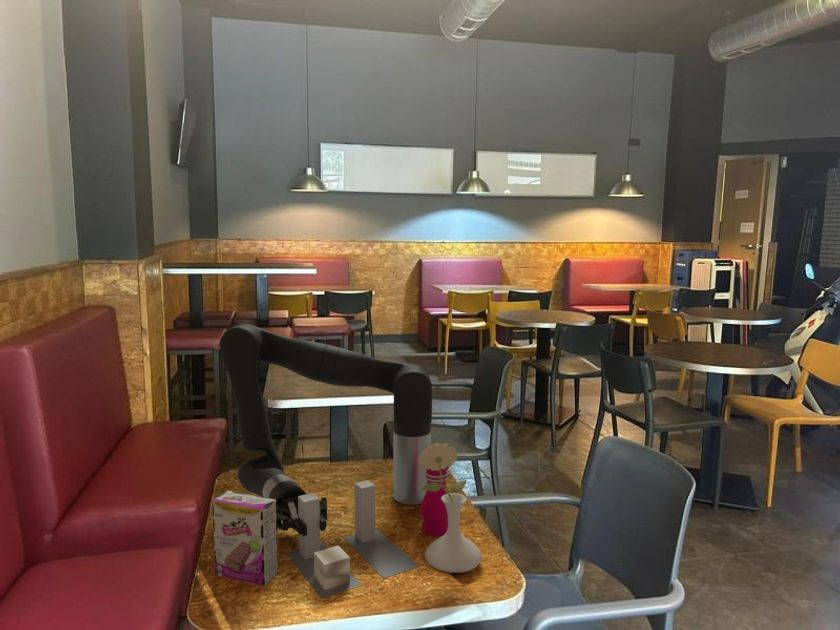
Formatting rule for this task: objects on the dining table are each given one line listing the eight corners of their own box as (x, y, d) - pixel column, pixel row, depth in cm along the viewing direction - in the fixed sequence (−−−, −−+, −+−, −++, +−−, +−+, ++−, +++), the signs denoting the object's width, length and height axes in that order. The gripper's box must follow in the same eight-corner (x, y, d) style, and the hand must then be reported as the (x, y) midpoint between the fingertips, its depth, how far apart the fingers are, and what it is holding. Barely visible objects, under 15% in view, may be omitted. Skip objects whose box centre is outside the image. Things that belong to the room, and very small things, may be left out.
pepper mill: (427, 540, 134) (428, 451, 131) (414, 525, 140) (415, 440, 137) (457, 533, 136) (459, 446, 134) (443, 519, 143) (444, 436, 140)
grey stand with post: (323, 548, 129) (322, 488, 127) (362, 591, 114) (361, 524, 112) (286, 559, 125) (285, 497, 123) (321, 604, 110) (320, 535, 108)
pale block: (338, 569, 119) (338, 545, 118) (349, 582, 115) (349, 557, 114) (314, 577, 116) (313, 552, 116) (325, 590, 112) (324, 564, 112)
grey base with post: (376, 533, 136) (375, 476, 134) (419, 571, 121) (419, 508, 119) (342, 542, 132) (342, 484, 130) (383, 584, 117) (383, 518, 115)
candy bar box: (213, 581, 117) (210, 500, 115) (230, 568, 122) (227, 489, 120) (264, 593, 114) (262, 509, 111) (279, 579, 118) (277, 498, 116)
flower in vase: (483, 551, 129) (486, 436, 125) (478, 582, 118) (481, 456, 114) (421, 545, 131) (422, 432, 128) (411, 575, 120) (412, 451, 117)
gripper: (252, 487, 132) (279, 519, 117) (314, 473, 139) (347, 502, 125) (253, 520, 133) (280, 556, 118) (314, 505, 140) (347, 537, 126)
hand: (314, 528), depth 122 cm, fingers closed on grey stand with post, 3 cm apart
